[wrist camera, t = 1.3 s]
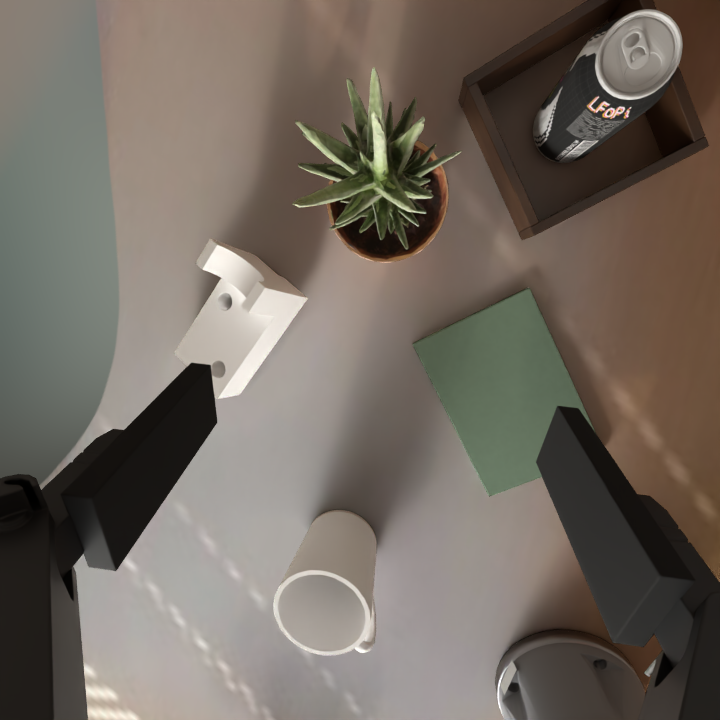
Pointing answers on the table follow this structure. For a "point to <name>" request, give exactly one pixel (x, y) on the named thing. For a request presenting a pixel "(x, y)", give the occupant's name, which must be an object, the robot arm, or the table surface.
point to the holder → (666, 117)
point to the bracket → (238, 317)
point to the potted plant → (380, 181)
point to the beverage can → (609, 84)
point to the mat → (500, 387)
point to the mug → (331, 587)
